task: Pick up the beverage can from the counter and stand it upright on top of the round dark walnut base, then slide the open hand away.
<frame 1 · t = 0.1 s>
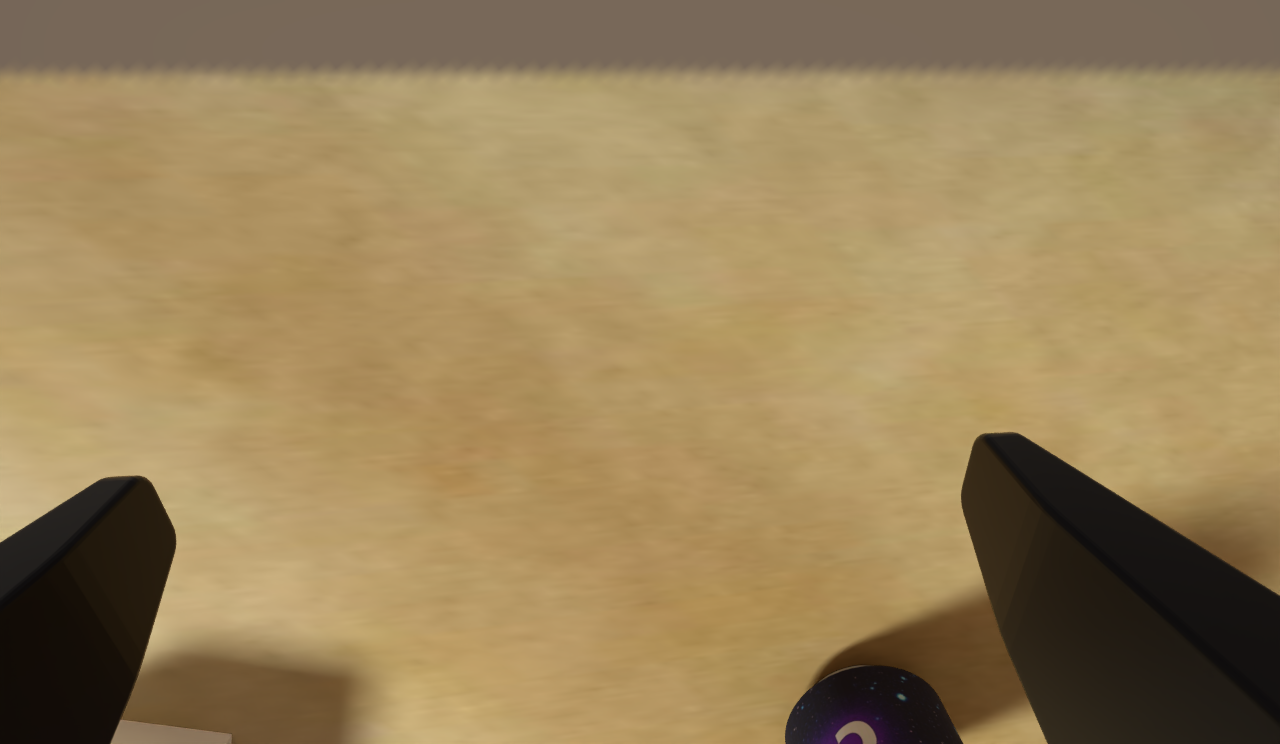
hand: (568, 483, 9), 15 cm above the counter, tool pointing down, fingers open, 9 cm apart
beverage can: (856, 707, 30), on the counter
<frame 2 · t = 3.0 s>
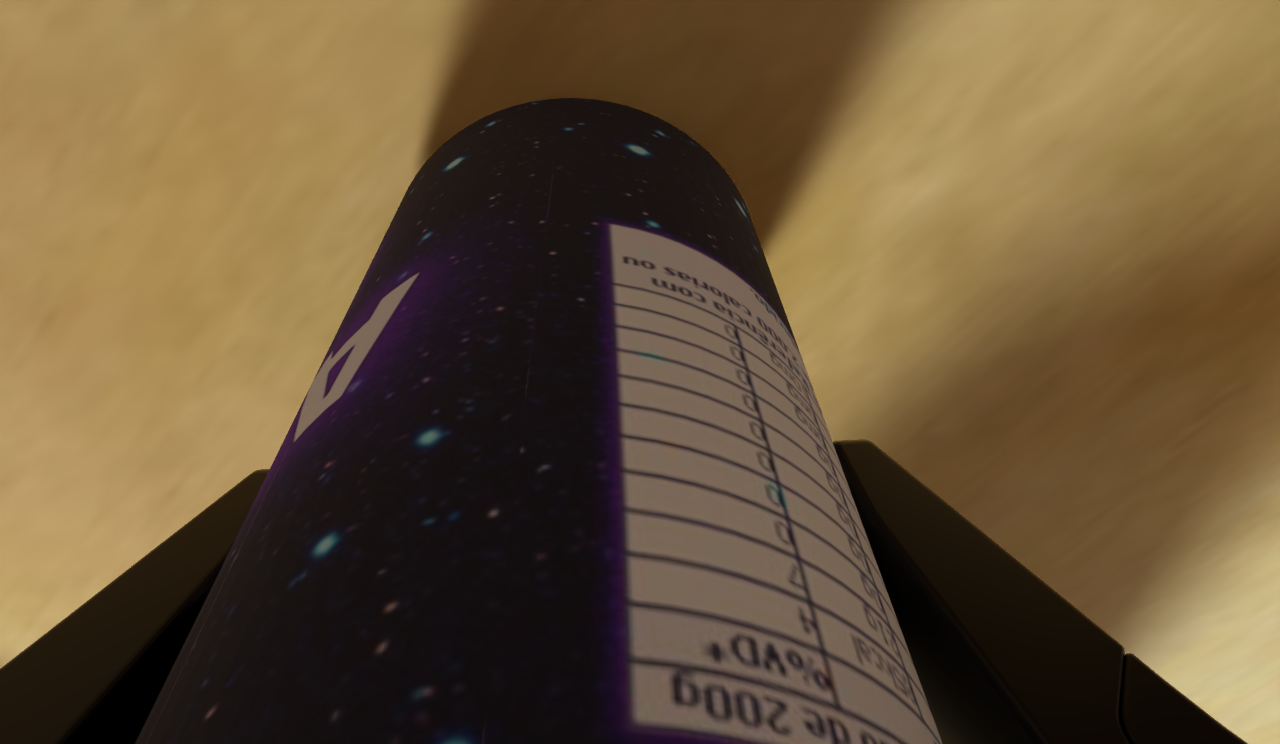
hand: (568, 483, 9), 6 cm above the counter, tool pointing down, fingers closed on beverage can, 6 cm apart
beverage can: (578, 249, 14), on the counter, touching gripper
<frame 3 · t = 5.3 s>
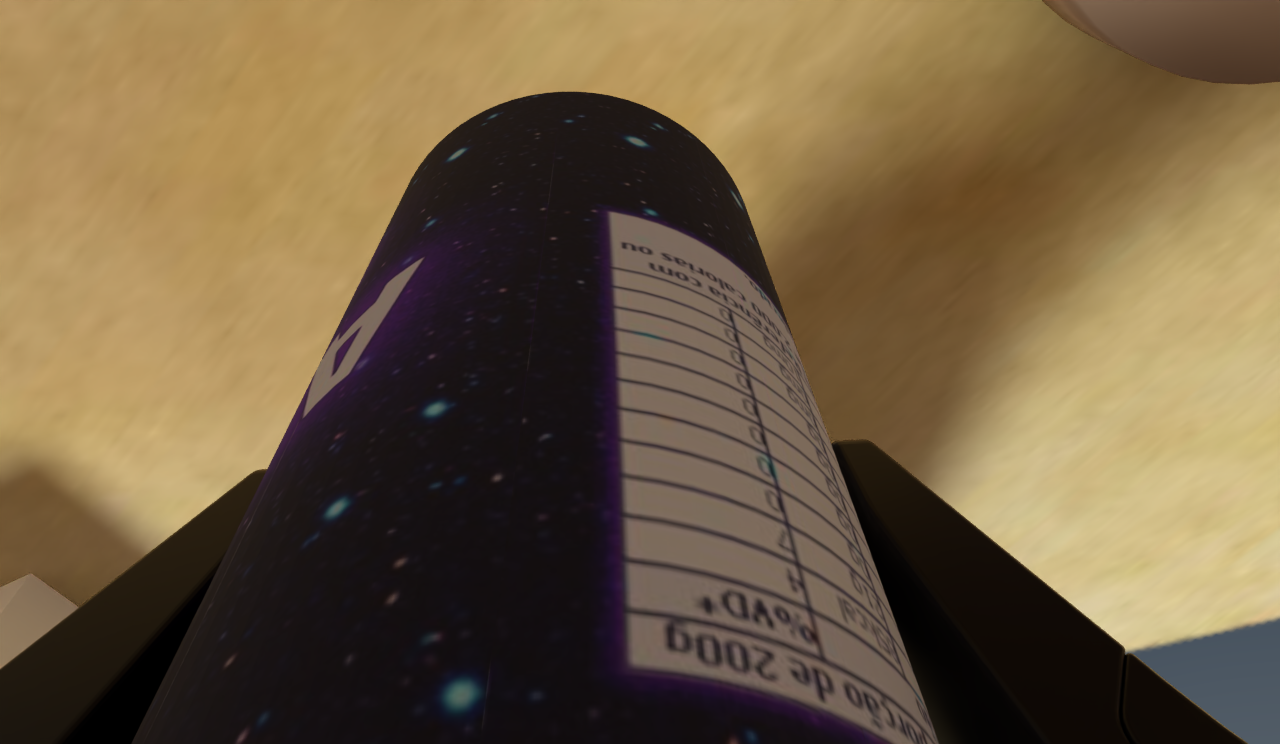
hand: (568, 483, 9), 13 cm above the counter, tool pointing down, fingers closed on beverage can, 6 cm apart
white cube: (43, 642, 30), on the counter
beverage can: (577, 241, 14), point 7 cm above the counter, touching gripper
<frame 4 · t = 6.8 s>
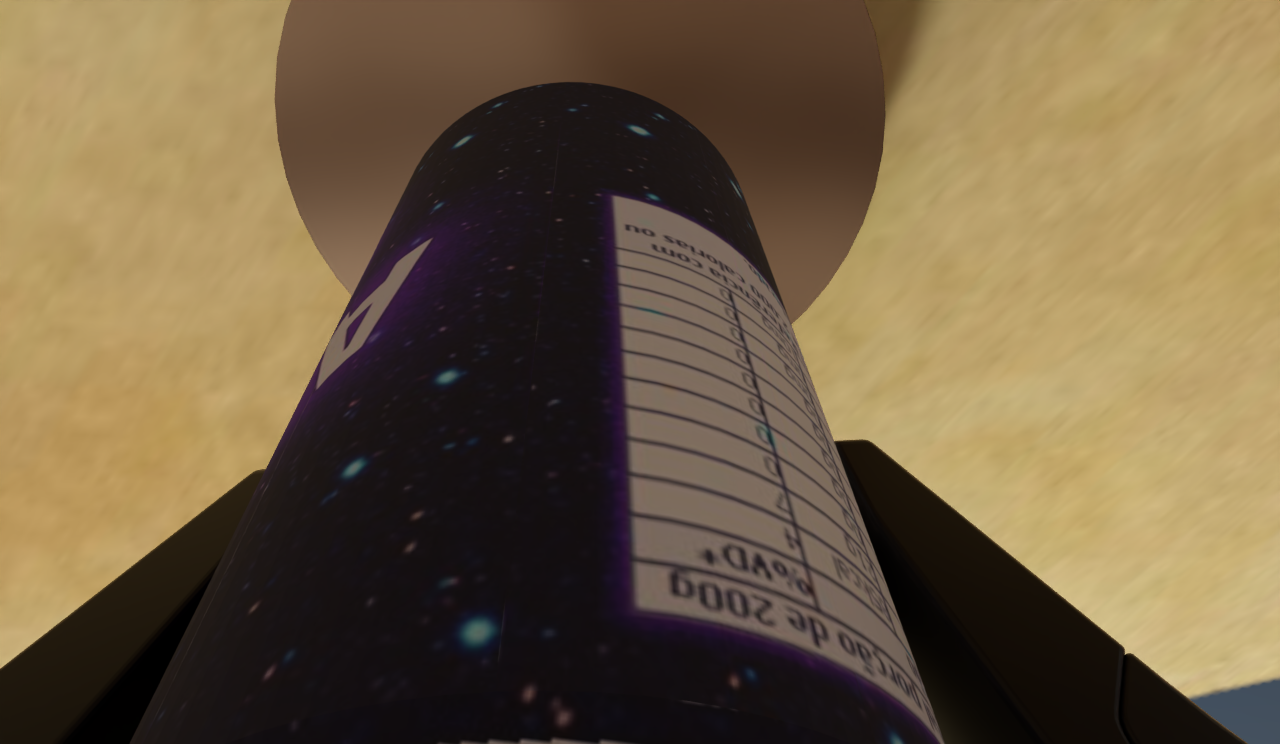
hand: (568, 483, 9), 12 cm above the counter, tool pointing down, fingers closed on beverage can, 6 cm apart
beverage can: (578, 231, 14), point 5 cm above the counter, touching gripper
walnut base: (587, 124, 19), on the counter
when the fingers open (9 cm above the counter, at t = 8.1 s): beverage can stays where it is, resting on walnut base.
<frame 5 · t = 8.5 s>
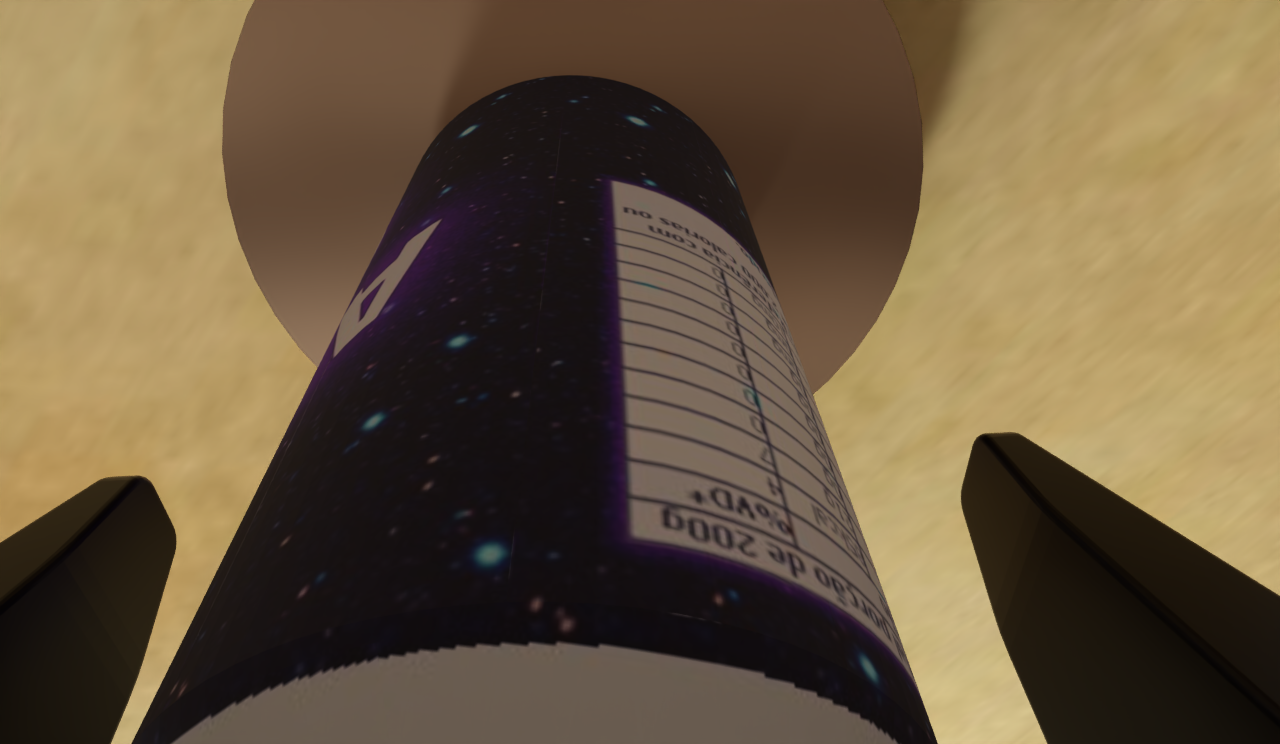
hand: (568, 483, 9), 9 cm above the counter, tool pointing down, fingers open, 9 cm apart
beverage can: (578, 220, 15), point 2 cm above the counter, touching walnut base
walnut base: (583, 172, 17), on the counter
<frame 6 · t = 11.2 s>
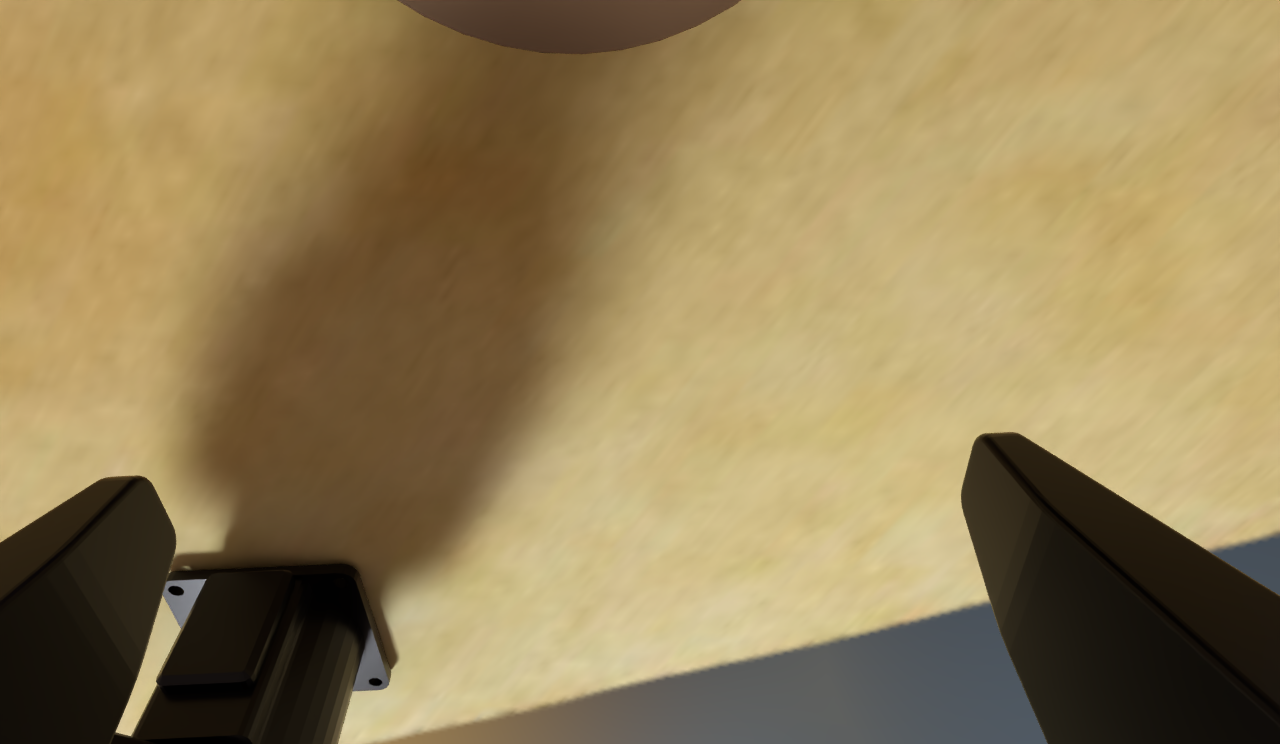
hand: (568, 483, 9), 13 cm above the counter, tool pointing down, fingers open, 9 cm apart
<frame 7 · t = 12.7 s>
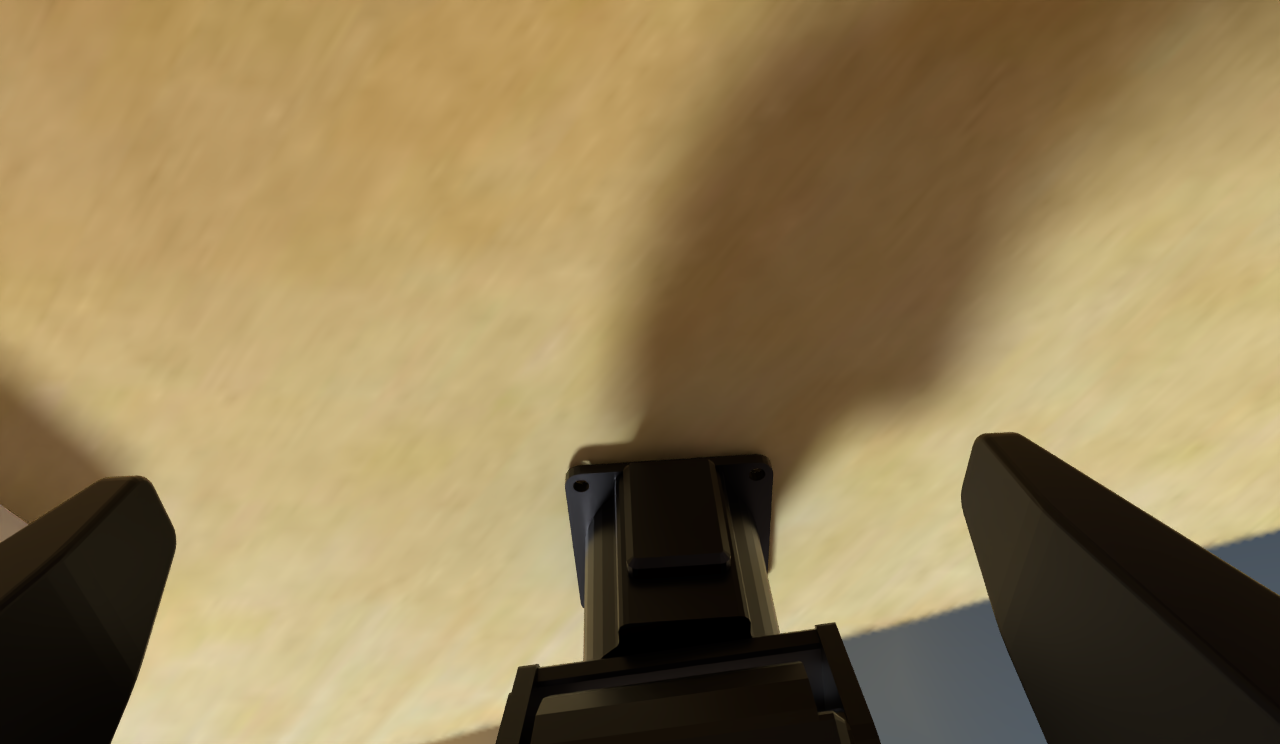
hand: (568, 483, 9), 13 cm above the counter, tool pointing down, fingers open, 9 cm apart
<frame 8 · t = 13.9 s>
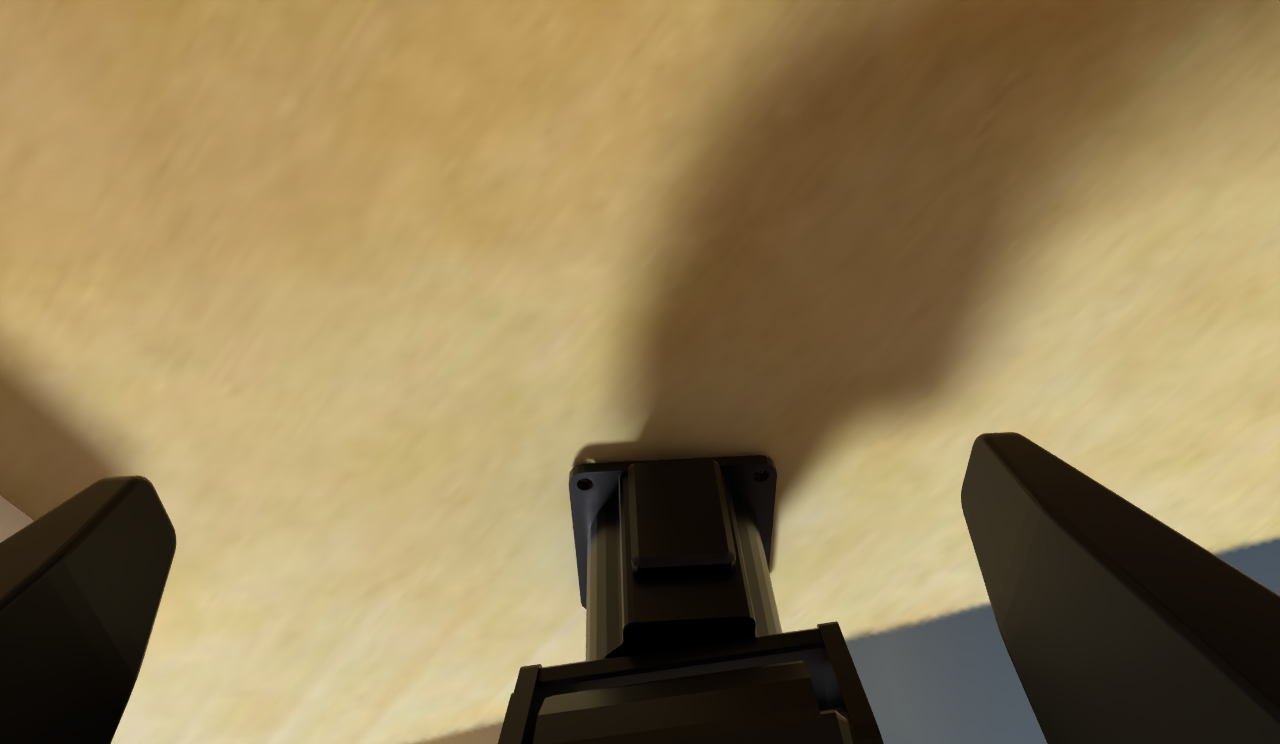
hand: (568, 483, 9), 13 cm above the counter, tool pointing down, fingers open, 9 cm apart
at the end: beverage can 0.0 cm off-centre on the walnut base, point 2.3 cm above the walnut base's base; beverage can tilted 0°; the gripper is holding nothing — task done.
